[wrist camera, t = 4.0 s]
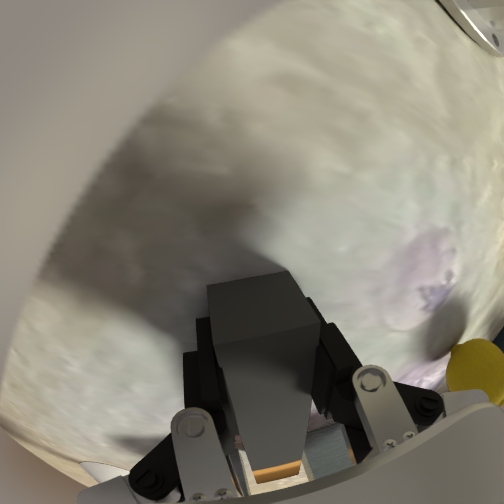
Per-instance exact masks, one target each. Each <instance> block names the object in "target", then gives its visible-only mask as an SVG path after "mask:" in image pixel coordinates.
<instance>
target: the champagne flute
mask: <svg viewBox="0 0 504 504" xmlns="http://www.w3.org/2000/svg"><path fill="white" fill-rule="evenodd" d="M80 466H81V468H82V469H84V470H85V471H86V472H87V473H88V474H89V475H90V476H91V477H93V478H94V479H95V480H96V481H97V482H98V483H103V482H105V481H108V480H110V479H113V478H115V477H117V476H120V475H121V476H125V475H128V474H129V473H130V472H129V471H127V470H124V469H121V468H118V467H114V466H110V465H106V464H101V463H95V462H82V463H80Z"/></svg>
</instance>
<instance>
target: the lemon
mask: <svg viewBox="0 0 504 504" xmlns="http://www.w3.org/2000/svg"><path fill="white" fill-rule="evenodd" d="M446 382H447V385H448V388H449V391H450V392H454V391H465V390H473V389H480V390H482V391H484V392H485V393H486V394H487V396H488V398H489V402H490V403H494V404H496V405H498V406H499V407H502V406H503V405H504V354H503V352H502V351H501V350H500V349H499V348H498V347H497V346H496V345H495V344H493V343H492V342H490V341H487V340H484V339H472V340H469V341H467V342H465V343H463V344H457V345H454V346H453V347H452V349H451V358H450V360H449V362H448V365H447V369H446Z"/></svg>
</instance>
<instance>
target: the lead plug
mask: <svg viewBox="0 0 504 504" xmlns="http://www.w3.org/2000/svg"><path fill="white" fill-rule="evenodd" d="M206 286H207V296H208V305H209V314H210V322H211V331H212V339H213V346H214V349H215V353H216V357H217V361H218V364H219V368H221V367H222V369H223V372H224V376H225V380H226V383H227V387H228V390H229V394H230V397H231V401H232V404H233V408H234V411H235V415H236V420H237V425H238V430H239V434H240V437H241V440H242V443H243V446H244V449H245V452H246V455H247V457H248V460H249V463H250V466H251V469H252V471H253V474H254V477H255V480H256V482H257V484H260V483H265V482H270V481H274V480H279V479H283V478H287V477H291V476H295V475H298V474H299V470H300V465H301V460H302V455H303V450H304V445H305V440H306V434H307V428H308V422H309V416H310V410H311V403H312V397H311V391H312V383H313V375H314V366H315V356H316V346H319V338H320V327H321V321H320V320H319V318H318V316H317V315H316V313H315V312H314V310H313V308H312V307H311V305H310V304H309V302H308V301H307V299H306V297H305V296H304V294H303V293H302V291H301V289H300V288H299V286H298V285H297V283H296V282H295V280H294V278H293V277H292V275H291V274H290V272H289V271H284V272H279V273H274V274H268V275H263V276H257V277H252V278H246V279H241V280H235V281H229V282H224V283H218V284H212V285H206Z"/></svg>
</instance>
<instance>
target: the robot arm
mask: <svg viewBox="0 0 504 504" xmlns="http://www.w3.org/2000/svg"><path fill="white" fill-rule="evenodd" d="M439 1H440V3H441V4H442V5H443V6H444V7H445V8H446V10H447V11H448V12H449V13H450V14H451V16H452V17H453V18H454V19H455V21H456V22H457V23H458V24H459V25H460V26H461V27H462V28H463V29H464V30H465V32H466V33H467V34H468V35H469V36H470V37H471V38H472V39H473V40H474V41H475V42H476V43H477V44H478V45H479V46H481V47H482V48H483V49H485V50H486V51H487V52H489V53H490V54H492V55H494V56H497V57H504V0H439ZM306 299H307V301H308V302H309V304H310V305H311V307H312V308H313V310H314V312H315V313H316V315H317V316H318V318H319V320H320V321H321V327H320V338H319V346H316V356H315V366H314V375H313V383H312V391H311V397H312V399H313V401H314V403H315V406H316V408H317V410H318V412H319V414H320V415H321V414H324V416H325V418H326V420H327V419H330V418H332V417H333V420H334V422H337V423H339V424H340V428H341V431H342V434H343V437H344V440H345V443H346V446H347V449H348V452H349V456H350V459H351V462H352V465H353V466H352V467H350V468H347V469H345V470H342V471H339V472H337V473H334V474H331V475H328V476H325V477H322V478H319V479H316V480H313V481H310V482H306V483H303V484H299V485H296V486H292V487H288V488H284V489H280V490H275V491H271V492H266V493H261V494H256V495H250V496H244V495H243V492H242V489H241V487H240V484H239V481H238V479H237V476H236V473H235V470H234V467H233V465H232V462H231V459H230V456H229V453H230V452H231V451H232V450H233V449H234V447H235V444H234V442H236V441H235V436H234V435H239V430H238V425H237V420H236V415H235V411H234V408H233V404H232V401H231V397H230V394H229V390H228V387H227V383H226V380H225V376H224V372H223V369H222V367H221V368H219V364H218V361H217V357H216V353H215V349H214V346H213V339H212V331H211V322H210V317H203V318H197V319H196V332H197V348H198V351H193V352H186V353H183V380H184V404H185V409H183V410H181V411H179V412H178V413H176V415H175V416H174V417H173V419H172V421H171V433H170V434H169V435H168V436H167V437H166V438H165V439H164V440H163V441H161V442H160V443H159V444H158V445H157V446H156V447H155V448H154V449H153V450H152V451H151V452H149V453H148V454H147V455H146V456H145V457H144V458H143V459H142V460H140V461H139V462H138V463H137V464H136V465H135V466H134V467H133V468H132V469H131V470H130V473H129V474H128V475H125V476H121V475H120V476H117V477H115V478H113V479H110V480H108V481H105V482H103V483H100V484H97V485H95V486H92V487H89V488H86V489H84V490H82V491H81V492H80V493H79V494H78V496H77V504H504V410H503V409H502V408H501V407H499V406H498V405H496V404H494V403H490V402H489V398H488V396H487V394H486V393H485V392H484V391H482V390H480V389H473V390H465V391H454V392H443V393H442V395H439V394H438V393H436V392H435V391H432V390H428V389H423V388H419V387H414V386H410V385H406V384H402V383H398V382H394V381H392V379H391V377H390V375H389V374H388V373H387V371H386V370H385V369H383V368H382V367H379V366H376V365H366V366H363V365H362V364H361V362H360V361H359V359H358V358H357V356H356V355H355V353H354V352H353V350H352V349H351V347H350V346H349V344H348V343H347V341H346V340H345V338H344V337H343V335H342V334H341V332H340V331H339V329H338V328H337V326H336V325H335V324H334V323H333V322H332V323H328V324H327V323H326V321H325V320H324V318H323V316H322V315H321V313H320V312H319V310H318V309H317V307H316V306H315V304H314V303H313V301H312V299H311V298H310V297H307V298H306ZM185 500H186V502H183V501H185ZM182 502H183V503H182Z"/></svg>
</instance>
